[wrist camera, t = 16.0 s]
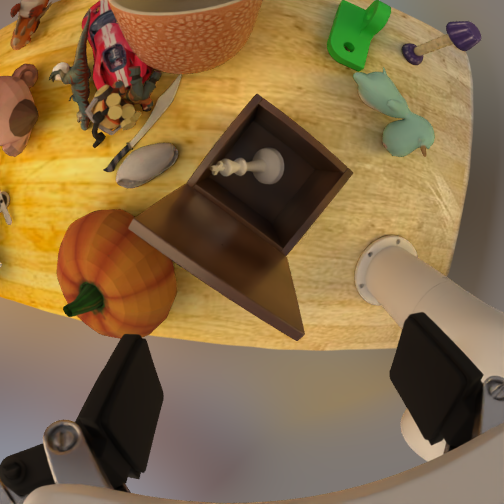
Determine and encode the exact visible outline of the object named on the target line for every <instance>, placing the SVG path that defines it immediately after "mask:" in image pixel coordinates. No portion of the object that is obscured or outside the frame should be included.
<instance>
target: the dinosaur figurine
mask: <svg viewBox="0 0 504 504" xmlns="http://www.w3.org/2000/svg"><path fill="white" fill-rule="evenodd" d="M90 19H91V12H90V9H89V12H88V19H87V22H86V25H85V27H84V29H83V31H82V34H81V36H80V40H79V43H78V46H77V51H76V56H75V61H74V64H73V66H72V67H70V66H69V65H68V64H67V63H64V62H61V63H59V64H57V65H56V66H55V67H54V68H53V71H52V73H51V75H50V77H49V80H50V79H52V81H53V82H54V80H62V82H63V84H71V90H72V93H73V95H72V96H71V97H70V100H71V98H73V101H75V102H77V103H78V106H79V112H78V113H77V118H78V119H77V122H78V123H79V122H80V121H81V128H82V129H83V130H87V128H88V126H89V123H90V121H91V120H90V118H89V117H88V115H87V114H86V112H85V110H86V109H87V107H88V106H89V102H88V98H89V95H90V88H89V78H90V77H91V72H90V69H89V67H88V63H87V55H86V42H87V36H88V30H89V25H90ZM70 100H69V101H70ZM91 112H92V109H91Z"/></svg>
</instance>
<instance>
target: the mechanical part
mask: <svg viewBox="0 0 504 504" xmlns="http://www.w3.org/2000/svg"><path fill="white" fill-rule="evenodd" d="M390 14H391V7H390V6H388V5H386V4H385V3H383V2H381V1H379V0H375V1H374V2H373V3H372V4H371V5H370V6H369V7H368V8H367V9H366V10H364V9H362V8H360V7H358V6H356V5H354V4H351V3H349V2H347V1H345V0H342V1H341V3H340V4H339V7H338V10H337V13H336V16H335V19H334V22H333V26H332V29H331V32H330V35H329V38H328V41H327V49H328V52H329V54H330V55H331V57H332V58H333V59H334V60H336V61H337V62H339V63H341V64H343V65H345V66H347V67H349V68H352V69H354V70H356V71H358V72H359V71H361V70H362V69H364V66H365V62H366V58H367V54H368V50H369V46H370V42H371V40H372V38H373V36H374V35H375V34H377V33H378V32H379V31H380V30H382V28H383V27H384V26H385V24H386V23H387V21H388V19H389V17H390ZM344 47H347V48H348V49H349V50H350V52H348V51H347V50H345V48H344Z"/></svg>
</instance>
